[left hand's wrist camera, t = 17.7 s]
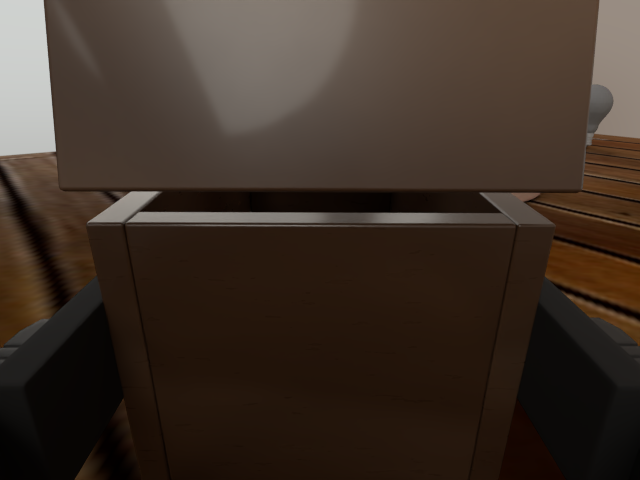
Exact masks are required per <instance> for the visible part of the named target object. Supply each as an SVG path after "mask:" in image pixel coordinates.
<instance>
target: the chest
mask: <svg viewBox="0 0 640 480" xmlns="http://www.w3.org/2000/svg"><path fill="white" fill-rule="evenodd" d="M86 227H87V232H88V236H89V241H90V246H91V250H92V255H93V259H94V264H95V268H96V273H97V278H98V282H99V287H100V291H101V296H102V300H103V305H104V309H105V314H106V318H107V323H108V327H109V332H110V336H111V341H112V346H113V350H114V355H115V359H116V364H117V368H118V373H119V377H120V382H121V386H122V391H123V395H124V401H125V406H126V410H127V415H128V419H129V424H130V429H131V433H132V438H133V442H134V447H135V451H136V456H137V461H138V465H139V470H140V474H141V479H142V480H498V479H499V474H500V470H501V465H502V461H503V457H504V452H505V448H506V443H507V439H508V435H509V430H510V426H511V421H512V417H513V413H514V408H515V404H516V399H517V395H518V391H519V386H520V382H521V377H522V373H523V368H524V364H525V360H526V355H527V351H528V346H529V342H530V337H531V333H532V328H533V324H534V320H535V315H536V311H537V306H538V302H539V298H540V293H541V289H542V285H543V280H544V276H545V271H546V267H547V263H548V258H549V254H550V249H551V245H552V241H553V236H554V232H555V224H553V223H552V222H551V221H549V220H548V219H546V218H545V217H544V216H542V215H541V214H539V213H538V212H537V211H535V210H534V209H532V208H531V207H530V206H528V205H527V204H525V203H524V202H523V201H521V200H520V199H518V198H517V197H516V196H514V195H513V194H511V193H416V192H130V193H129V194H127V195H126V196H124V197H123V198H122V199H120V200H119V201H117V202H116V203H115V204H113V205H112V206H110V207H109V208H107V209H106V210H105V211H103V212H102V213H100V214H99V215H98V216H96V217H95V218H93V219H92V220H90V221H89V222H88V223H87V224H86Z"/></svg>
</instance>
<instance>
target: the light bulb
mask: <svg viewBox="0 0 640 480" xmlns="http://www.w3.org/2000/svg"><path fill="white" fill-rule="evenodd" d="M612 105H613V96H612V94H611V92H610V91H609V90H608V89H607V88H606V87H604V86H601V85H592V87H591V99H590V110H589V121H588V132H587V143H586V147H587V146H589V145H591V144H592V143H591V142H592V141H591V140H592V137H593V136H594V132H595V131H596V130H597V128H598V125H599V124H600V122H601V121H602V120H603V119H604V117H606V115H607V114H608V113H609V112H610V110H611V108H612Z"/></svg>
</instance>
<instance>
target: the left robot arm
mask: <svg viewBox="0 0 640 480" xmlns="http://www.w3.org/2000/svg"><path fill="white" fill-rule="evenodd" d="M123 398H124V395H123V391H122V386H121V382H120V377H119V373H118V368H117V364H116V359H115V355H114V350H113V346H112V341H111V336H110V332H109V327H108V323H107V318H106V314H105V309H104V305H103V300H102V296H101V291H100V287H99V282H98V278H97V276H96V277H95V278H94V279H93V280H92V281H90V282H89V283H88V284H87V285H86V286H85V287H84V288H83V289H82V290H81V291H80V292H78V293H77V294H76V295H75V296H74V297H73V298H72V299H71V300H70V301H69V302H68V303H67V304H65V305H64V306H63V307H62V308H61V309H60V310H59V311H58V312H57V313H56V314H55V315H54V316H52V317H51V318H50V319H41V320H39V321H38V322H36V323H34V324H32V325H30V326H28V327H26V328H25V329H23V330H21V331H19V332H18V333H17V334H16V335H15V336H14V337H12V338H11V339H10V340H9V341H8V342H7V343H6V344H4V347H3V348H0V480H74V479H75V478H76V476H77V474H78V473H79V471H80V469H81V468H82V466H83V464H84V463H85V461H86V459H87V458H88V456H89V454H90V453H91V451H92V449H93V448H94V446H95V444H96V443H97V441H98V439H99V438H100V436H101V434H102V433H103V431H104V429H105V428H106V426H107V424H108V423H109V421H110V419H111V418H112V416H113V414H114V413H115V411H116V409H117V408H118V406H119V404H120V403H121V401H122V399H123ZM517 398H518V400H519V402H520V403H521V405H522V407H523V408H524V410H525V412H526V413H527V415H528V417H529V418H530V420H531V422H532V423H533V425H534V427H535V428H536V430H537V432H538V433H539V435H540V437H541V438H542V440H543V442H544V443H545V445H546V447H547V448H548V450H549V452H550V453H551V455H552V457H553V458H554V460H555V462H556V463H557V465H558V467H559V468H560V470H561V472H562V473H563V475H564V477H565V478H566V480H640V346H638V345H637V343H636V342H635V341H634V340H633V339H632V338H630V337H629V336H628V335H627V334H626V333H625V332H623V331H622V330H621V329H619V328H617V327H615V326H614V325H612V324H610V323H608V322H606V321H604V320H602V319H600V318H589V317H588V316H587V315H586V314H585V313H584V312H583V311H582V310H581V309H579V308H578V307H577V306H576V305H575V304H574V303H573V302H572V301H571V300H570V299H569V298H568V297H566V296H565V295H564V294H563V293H562V292H561V291H560V290H559V289H558V288H557V287H556V286H555V285H553V284H552V283H551V282H550V281H549V280H548V279H547V278H546V277H545V276H544V280H543V285H542V289H541V293H540V298H539V302H538V306H537V311H536V315H535V320H534V324H533V328H532V333H531V337H530V342H529V346H528V351H527V355H526V360H525V364H524V368H523V373H522V377H521V382H520V386H519V391H518V395H517Z"/></svg>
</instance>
